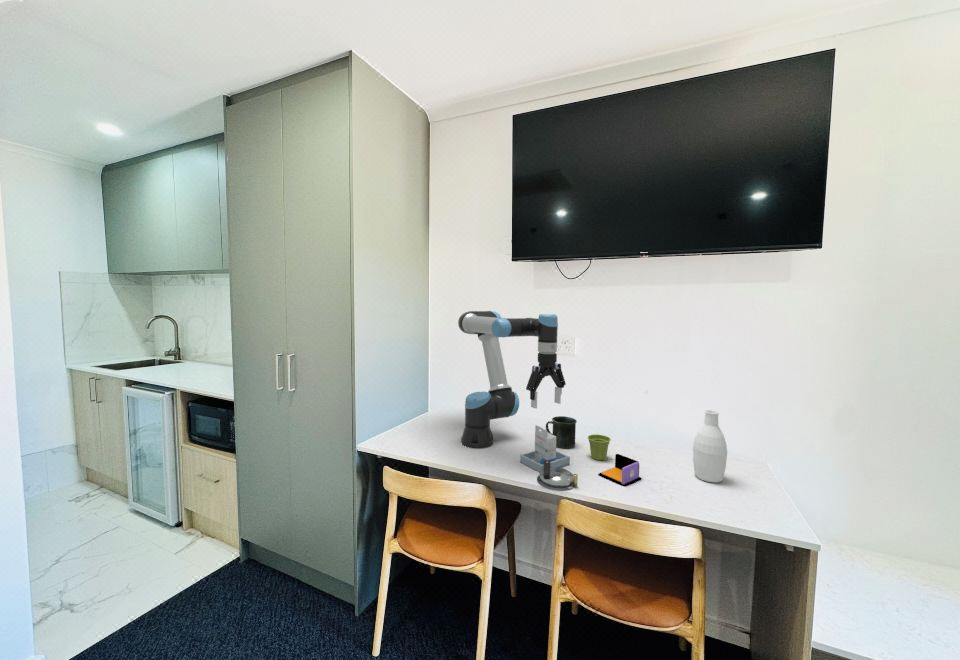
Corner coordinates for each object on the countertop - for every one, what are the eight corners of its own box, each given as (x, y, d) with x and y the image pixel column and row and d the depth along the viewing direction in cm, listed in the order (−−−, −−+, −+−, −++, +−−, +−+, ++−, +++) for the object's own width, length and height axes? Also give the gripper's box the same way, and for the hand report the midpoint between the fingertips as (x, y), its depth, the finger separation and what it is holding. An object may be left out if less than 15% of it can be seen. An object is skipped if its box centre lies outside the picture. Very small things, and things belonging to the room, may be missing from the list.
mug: (571, 451, 165) (572, 425, 165) (541, 444, 173) (541, 419, 173) (579, 443, 174) (579, 418, 174) (550, 437, 182) (550, 413, 182)
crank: (555, 469, 144) (556, 449, 143) (580, 481, 134) (581, 460, 133) (532, 477, 137) (532, 456, 136) (556, 491, 127) (557, 468, 126)
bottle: (685, 470, 147) (688, 407, 146) (714, 471, 147) (717, 408, 145) (701, 484, 136) (705, 415, 134) (732, 484, 136) (736, 416, 134)
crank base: (529, 480, 137) (529, 467, 137) (555, 471, 145) (555, 458, 145) (557, 497, 125) (558, 482, 125) (584, 486, 133) (585, 472, 133)
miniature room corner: (643, 479, 139) (643, 462, 139) (624, 488, 132) (625, 470, 132) (615, 468, 149) (615, 451, 149) (596, 475, 142) (596, 458, 142)
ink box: (556, 465, 149) (557, 429, 148) (546, 467, 147) (547, 430, 146) (543, 457, 156) (544, 423, 155) (534, 459, 154) (534, 424, 153)
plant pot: (583, 457, 158) (583, 438, 158) (593, 451, 165) (593, 432, 165) (604, 464, 152) (604, 443, 151) (613, 457, 159) (614, 437, 158)
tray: (520, 463, 152) (520, 454, 152) (547, 454, 161) (547, 447, 161) (541, 474, 142) (541, 466, 142) (569, 465, 151) (569, 456, 151)
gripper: (530, 355, 138) (529, 412, 140) (575, 351, 152) (573, 403, 154) (517, 353, 145) (516, 407, 146) (561, 349, 159) (560, 399, 160)
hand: (546, 405), depth 150 cm, fingers open, 12 cm apart
